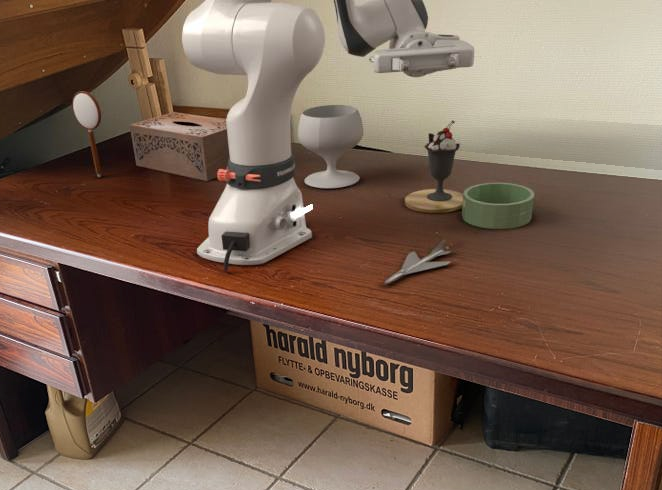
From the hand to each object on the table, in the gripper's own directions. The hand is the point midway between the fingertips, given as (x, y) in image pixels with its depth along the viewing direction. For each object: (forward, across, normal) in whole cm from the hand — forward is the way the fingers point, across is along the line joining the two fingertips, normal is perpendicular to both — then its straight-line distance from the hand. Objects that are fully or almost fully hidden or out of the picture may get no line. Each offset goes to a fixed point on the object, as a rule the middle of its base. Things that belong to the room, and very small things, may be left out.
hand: (429, 64), depth 141 cm
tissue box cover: (-26, -52, +24) cm, 63 cm away
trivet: (+12, 0, +24) cm, 27 cm away
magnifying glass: (-22, -74, +24) cm, 81 cm away
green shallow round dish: (+22, +10, +24) cm, 34 cm away
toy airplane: (+41, -7, +24) cm, 48 cm away
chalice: (-6, -19, +24) cm, 31 cm away
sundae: (+11, +1, +23) cm, 26 cm away
